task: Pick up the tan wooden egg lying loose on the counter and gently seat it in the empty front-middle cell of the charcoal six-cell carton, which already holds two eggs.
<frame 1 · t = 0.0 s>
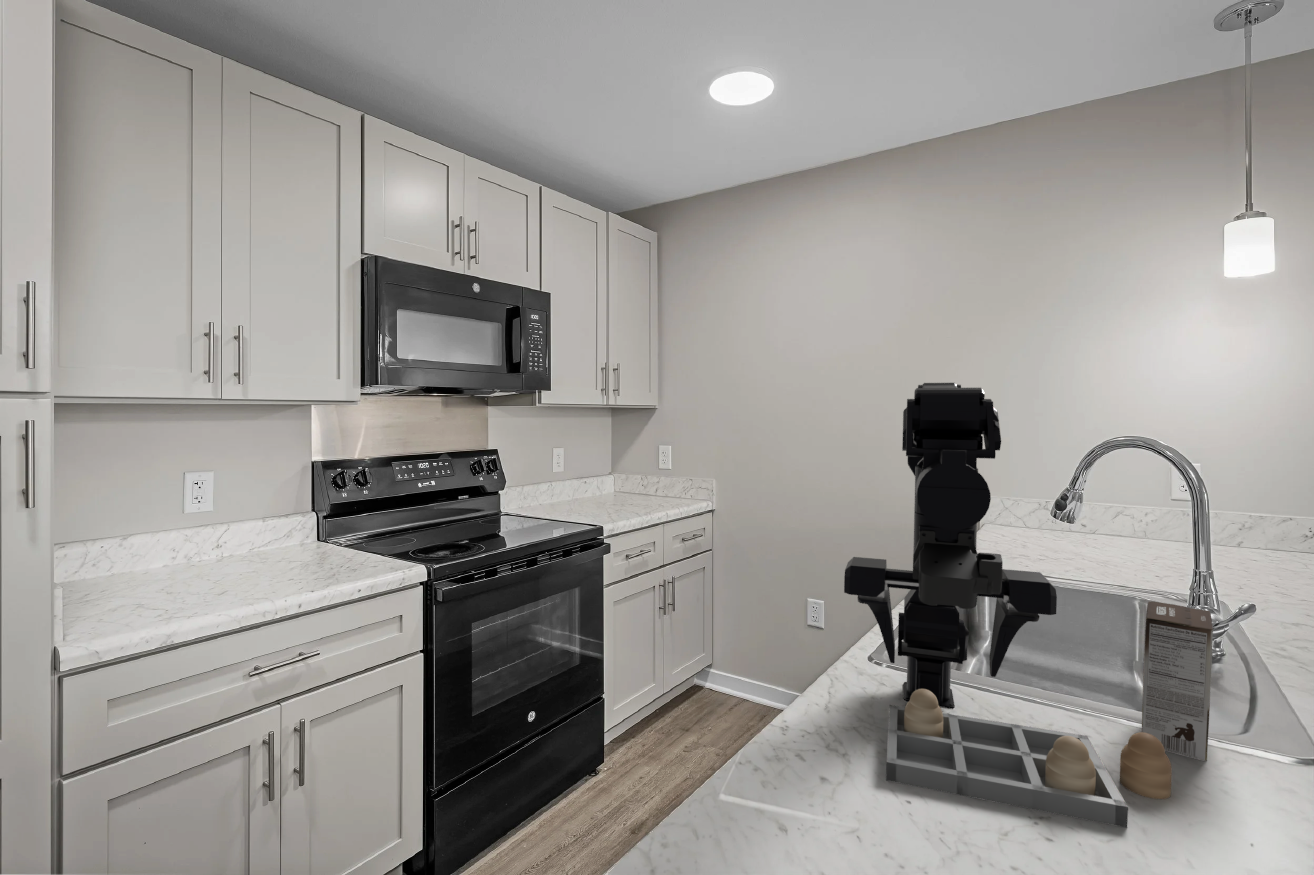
hand: (941, 668, 65), 15 cm above the countertop, fingers open, 9 cm apart
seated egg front: (1069, 795, 68), resting on egg carton
egg carton: (990, 768, 74), on the countertop
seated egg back: (923, 739, 79), resting on egg carton
coffee box: (1173, 743, 80), on the countertop
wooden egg: (1144, 790, 70), on the countertop
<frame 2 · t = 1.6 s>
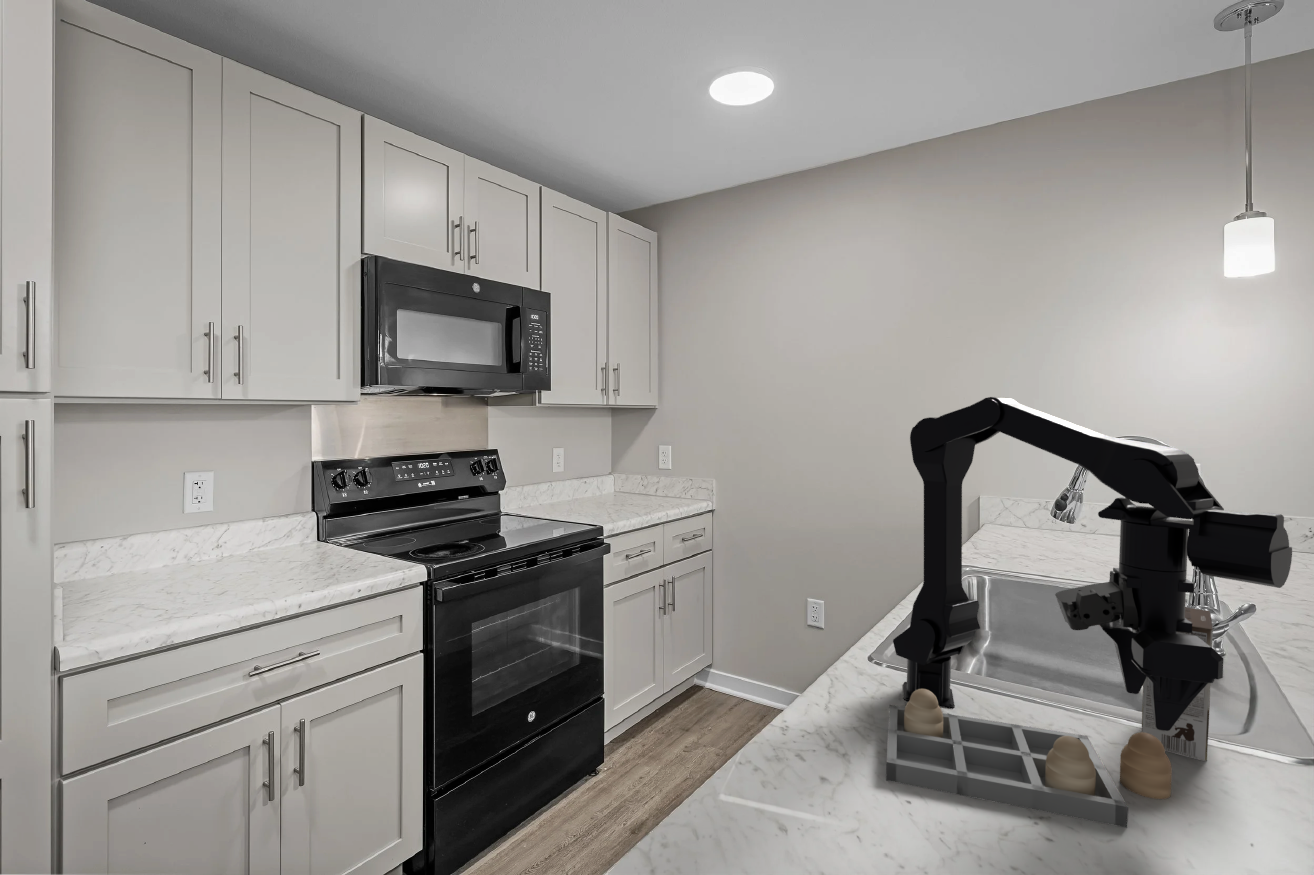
hand: (1146, 710, 70), 9 cm above the countertop, fingers open, 9 cm apart
nothing on the countertop moved.
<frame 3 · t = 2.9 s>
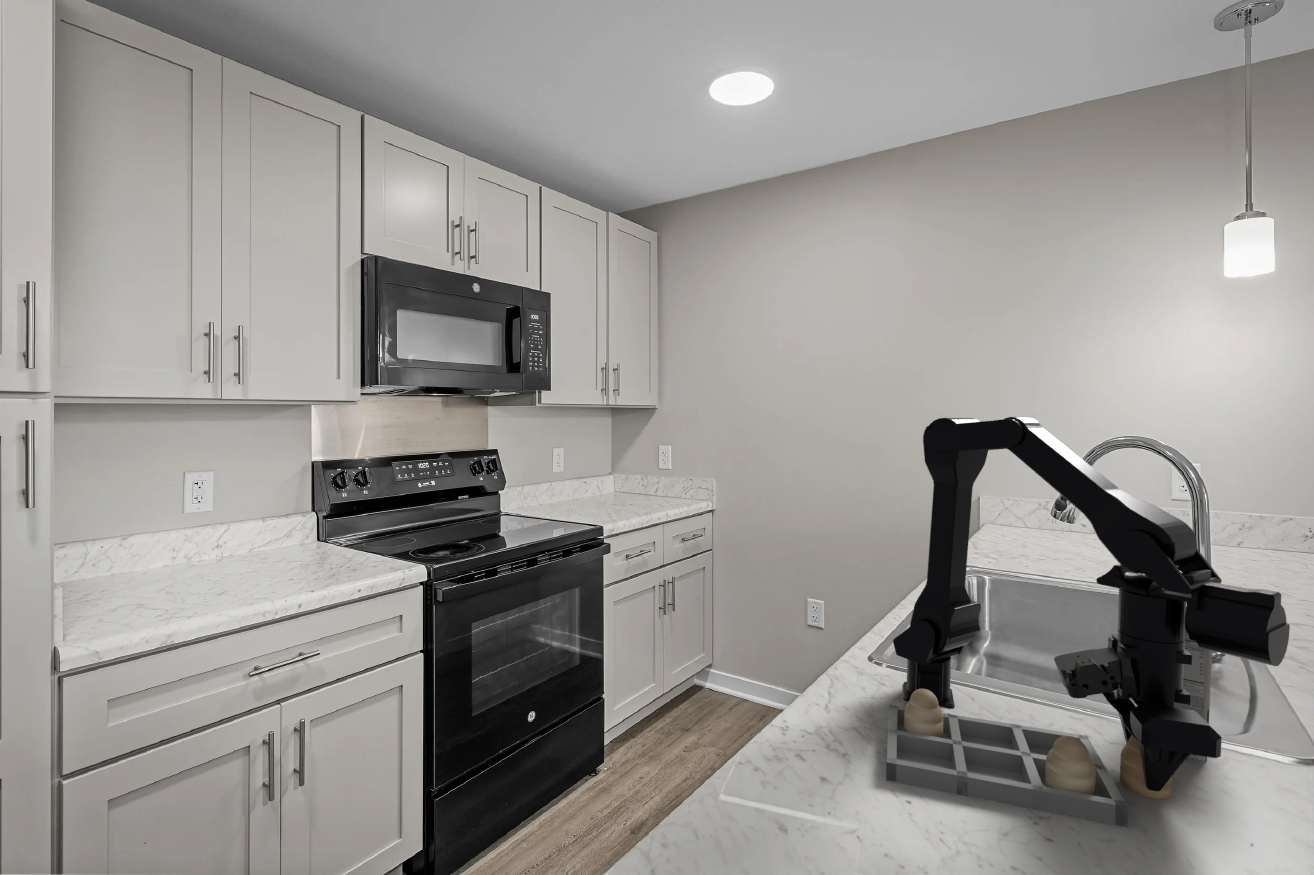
hand: (1145, 777, 70), 1 cm above the countertop, fingers closed on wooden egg, 4 cm apart
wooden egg: (1144, 790, 70), on the countertop, touching gripper
everything else where it was.
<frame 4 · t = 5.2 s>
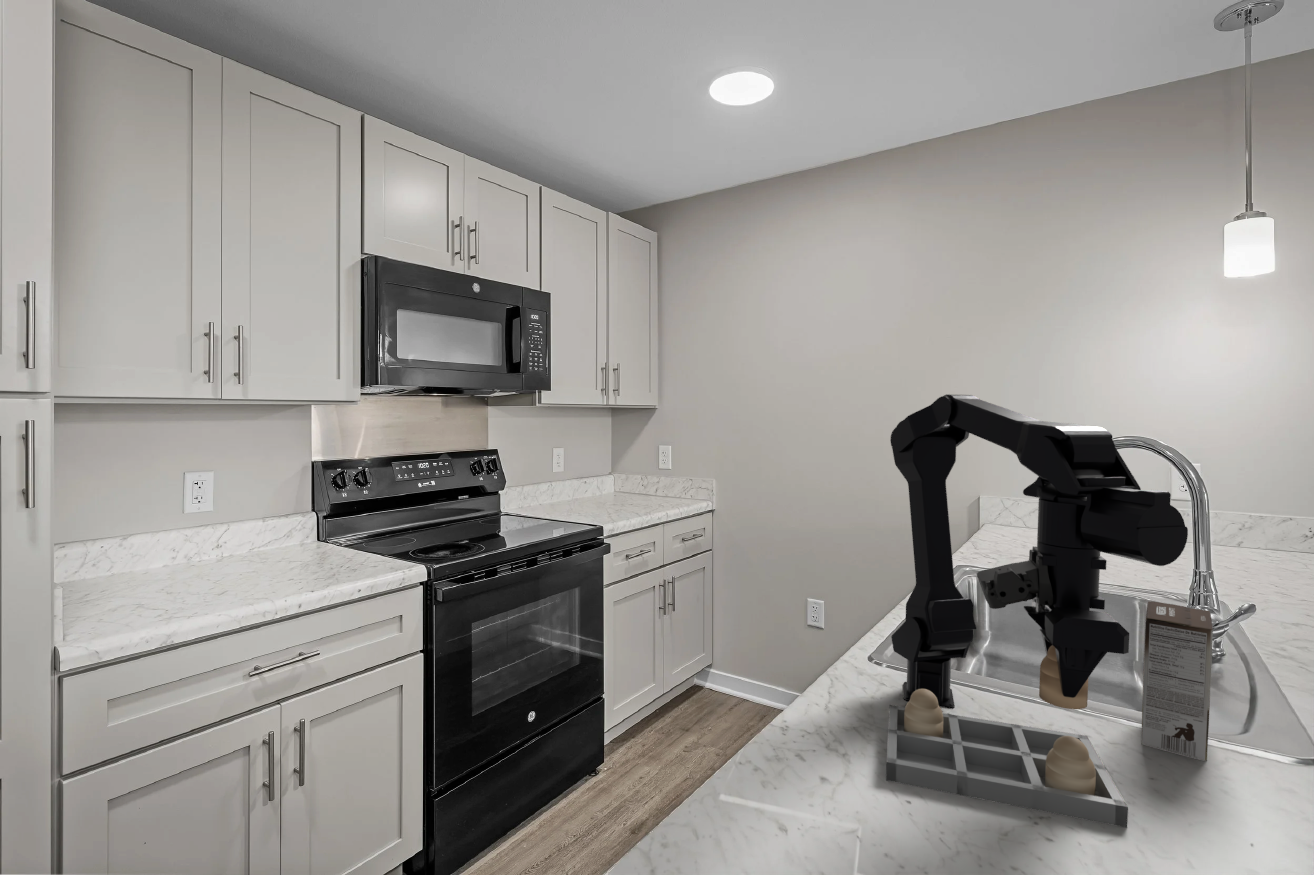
hand: (1062, 687, 70), 11 cm above the countertop, fingers closed on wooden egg, 4 cm apart
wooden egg: (1062, 699, 70), point 10 cm above the countertop, touching gripper
everything else where it was.
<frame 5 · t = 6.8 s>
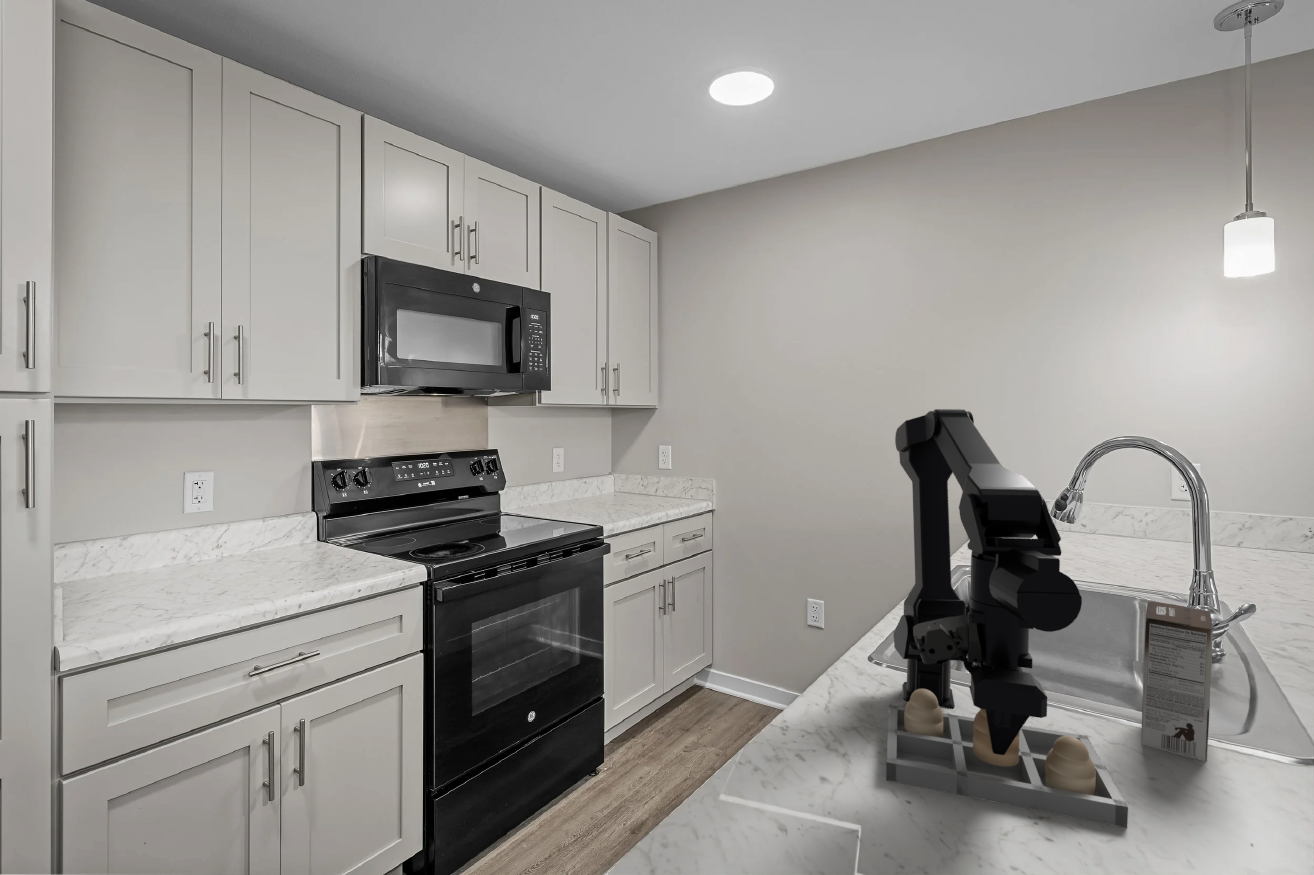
hand: (995, 743, 70), 5 cm above the countertop, fingers closed on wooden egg, 4 cm apart
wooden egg: (995, 755, 70), point 3 cm above the countertop, touching gripper
everything else where it was.
when the fingers open (4 cm above the countertop, at t = 7.7 s): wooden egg drops 2 cm, resting on egg carton.
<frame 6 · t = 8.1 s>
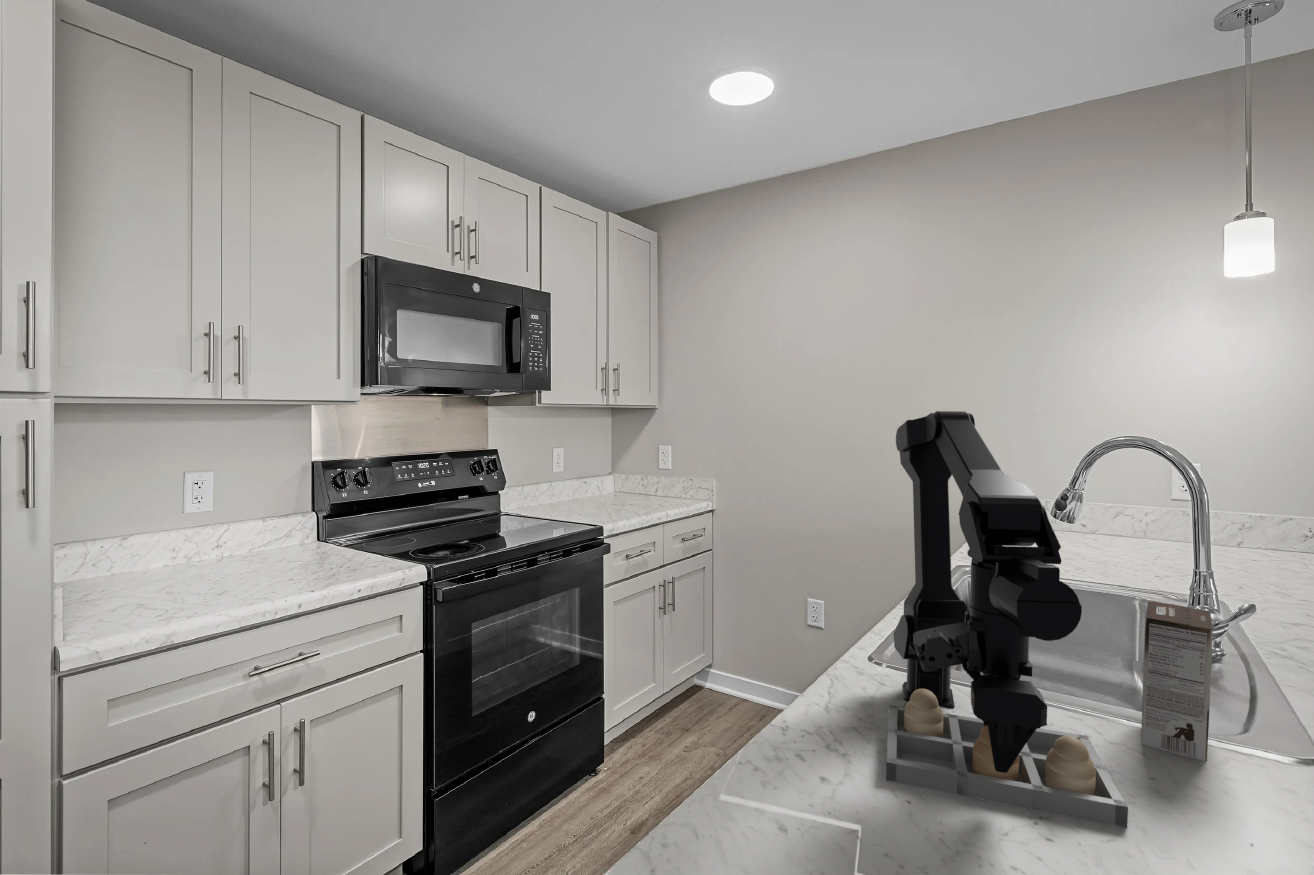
hand: (995, 750, 70), 4 cm above the countertop, fingers open, 8 cm apart
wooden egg: (994, 781, 70), resting on egg carton
everything else where it was.
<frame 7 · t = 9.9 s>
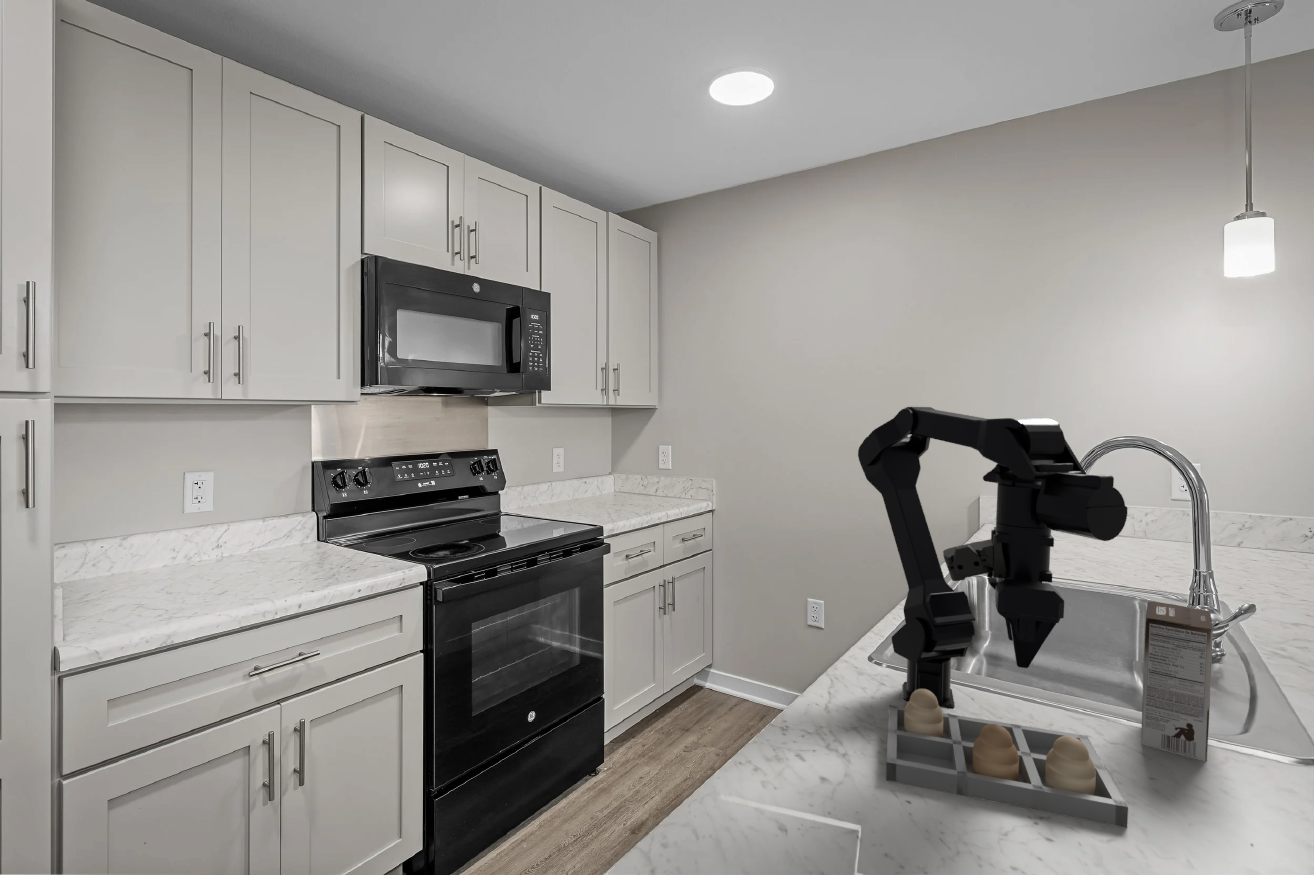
hand: (1017, 653, 78), 12 cm above the countertop, fingers open, 9 cm apart
nothing on the countertop moved.
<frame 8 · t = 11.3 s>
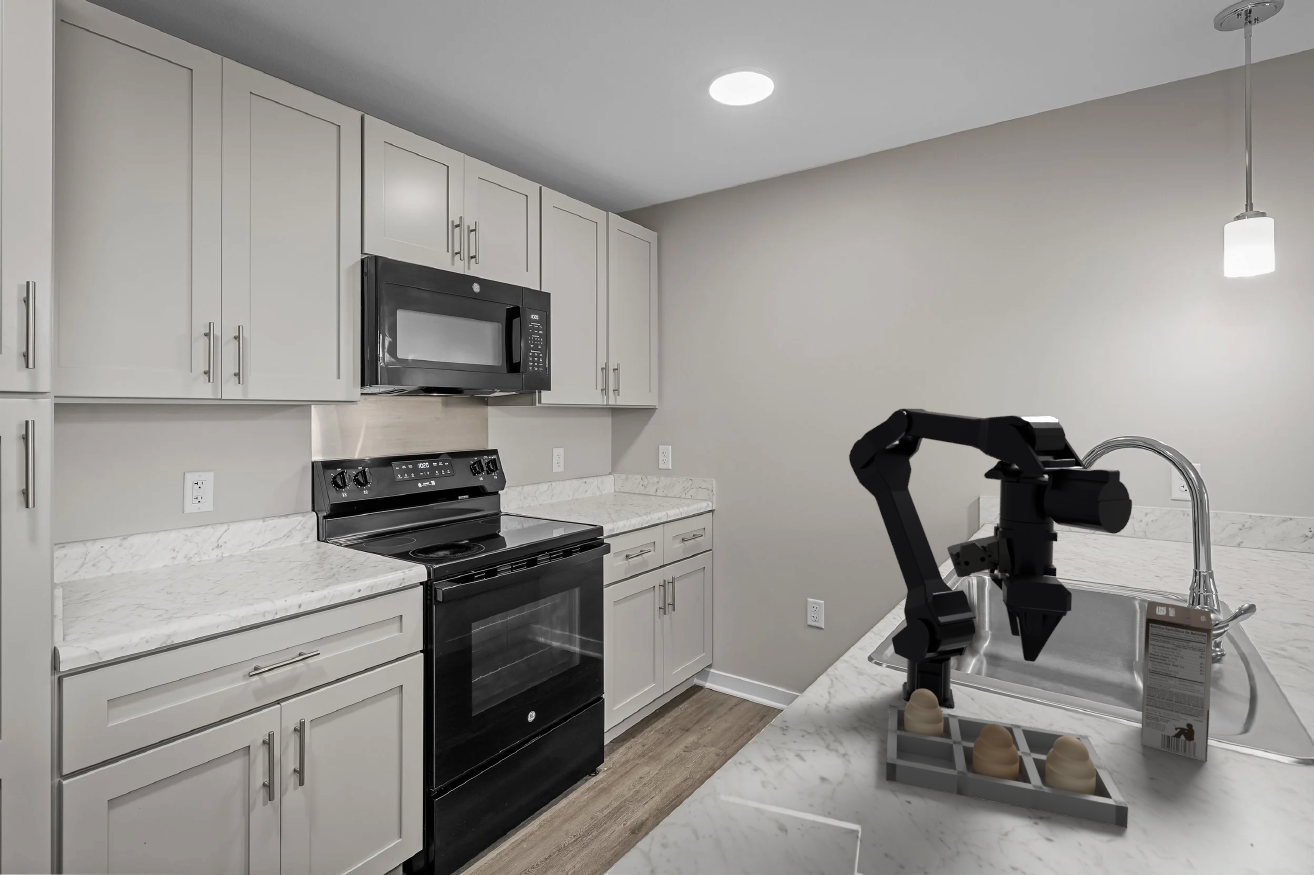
hand: (1022, 647, 79), 12 cm above the countertop, fingers open, 9 cm apart
nothing on the countertop moved.
at the end: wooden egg 0.0 cm from the target spot on the egg carton, point 0.4 cm above the egg carton's base; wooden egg tilted 0°; the gripper is holding nothing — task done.
